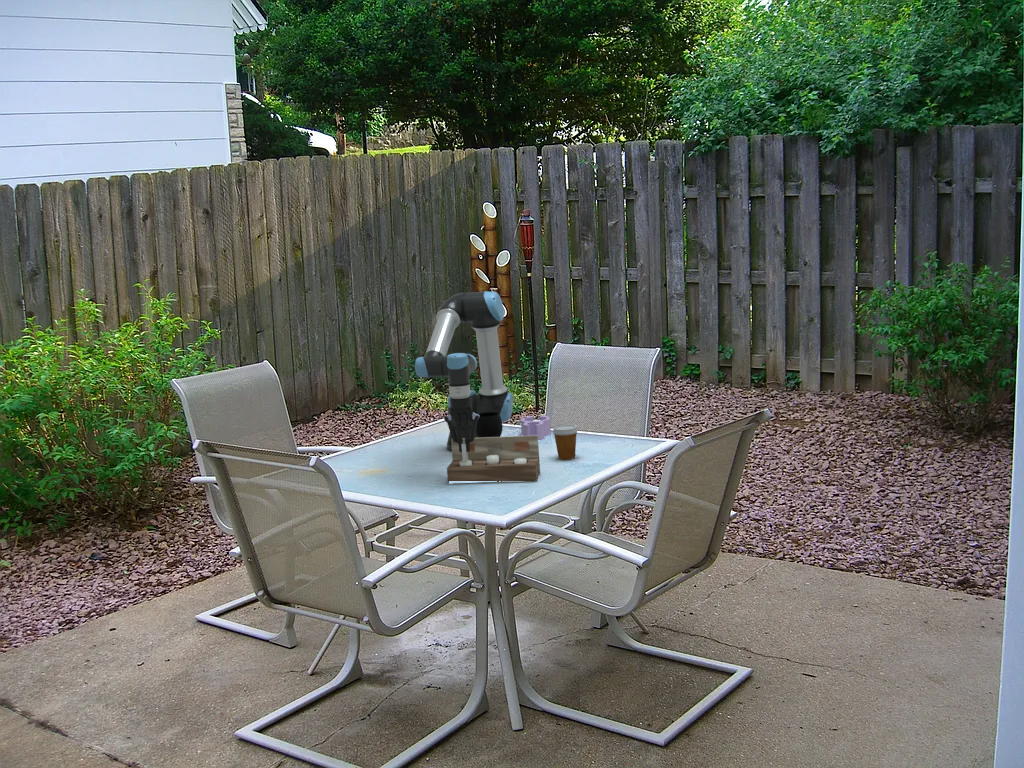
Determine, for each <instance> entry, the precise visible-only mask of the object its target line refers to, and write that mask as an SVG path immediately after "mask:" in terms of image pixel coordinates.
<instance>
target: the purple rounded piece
mask: <svg viewBox="0 0 1024 768" xmlns="http://www.w3.org/2000/svg"><path fill="white" fill-rule="evenodd" d="M520 427H521V428H520V429H521V436H522V435H523V436H533V435H538V440H540V441H543V440H545V437H548V436H550V435H551V434H552V430H551V418H550V417H549V416H547V415H546V414H543V415H540V416H539V420H534V417H533V416H532V415H527V416H526V417H523V418H520ZM550 433H551V434H550ZM549 434H550V435H549ZM547 435H548V436H547ZM544 436H545V437H544ZM542 439H543V440H542Z"/></svg>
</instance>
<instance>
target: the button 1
mask: <svg viewBox="0 0 1024 768" xmlns="http://www.w3.org/2000/svg"><path fill="white" fill-rule="evenodd" d="M460 466H472V461H471V460H468V461H467V462H463V460H462V461H460Z"/></svg>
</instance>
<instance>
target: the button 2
mask: <svg viewBox="0 0 1024 768" xmlns="http://www.w3.org/2000/svg"><path fill="white" fill-rule="evenodd" d="M514 464H527V460H526V458H517V459H514Z"/></svg>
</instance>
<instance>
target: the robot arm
mask: <svg viewBox="0 0 1024 768" xmlns="http://www.w3.org/2000/svg"><path fill="white" fill-rule="evenodd" d="M504 316H505V313H504V304H503V301H502V297H501V296H500V295H499V293H498V292H496V291H486V290H485V291H475V292H473V291H472V292H460V293H455V294H453V295H452V296H450V297H449V298H448V299H446V300H445V301H444V302H443V303H442V304H441V306H439V309H438V310H437V313H436V316H435V322H436V323H435V326H434V328H433V331H432V335H431V337H430V340H429V343H428V347H427V348H426V352H425V354H424V356H419V357H417V358H416V359H415V363H414V371H415V374H416V376H417V377H418V378H438V377H439V378H441V377H442V378H443V377H444V378H445V377H447V379H448V390H449V391H448V392H449V393H448V394H449V396H448V397H447V411H448V413H447V415H445V417H444V418H443V419H444V421H445V422H446V423H447V427H448V429H449V434H448V438H447V442H446V448H447V449H448V450H447V449H446V450H447V451H449V450H452V446H451V439H453V442H456V443H458V444H459V452H462V458H463V462H467V461H468V452H469V451H470V442H472V441H473V440H474V438H479V437H478V436H477V434H476V426H477V420H478V419H479V417H480V415H479V414H480V413H485V412H497V413H499V414H500V417H501V420H502V423H504V422H508V421H510V419H511V417H512V413H513V406H514V405H513V404H514V397H513V393H512V392H508V391H509V390H508V387H507V386H506V385H504V380H503V379H504V378H503V372H502V362H501V353H500V343H499V335H498V327H499V326H500V325H501V321H503V319H504ZM460 323H461V324H462V323H470V327H471V329H473V330H474V331H475V337H476V345H477V355H478V361H477V359H476V357H475V356H474V355H472V354H470V353H464V352H456V353H455V352H454V353H450V354H447V353H448V350H449V347H450V344H451V342H452V338H453V337H454V333H455V331H456V328H458V326H459V325H460ZM478 362H479V370H480V377H481V378H480V379H481V387H480V389H479V391H478V393H476V390H474V389H473V390H472V389H471V384H470V375H472V374H473V373H474V372H475V370H477V367H478ZM462 438H465V442H463V439H462Z"/></svg>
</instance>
